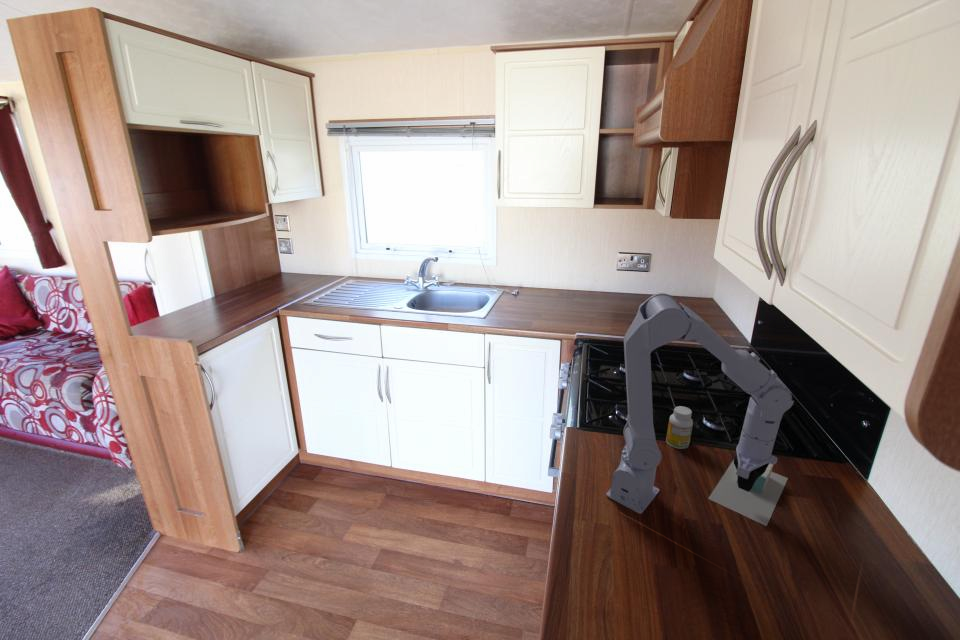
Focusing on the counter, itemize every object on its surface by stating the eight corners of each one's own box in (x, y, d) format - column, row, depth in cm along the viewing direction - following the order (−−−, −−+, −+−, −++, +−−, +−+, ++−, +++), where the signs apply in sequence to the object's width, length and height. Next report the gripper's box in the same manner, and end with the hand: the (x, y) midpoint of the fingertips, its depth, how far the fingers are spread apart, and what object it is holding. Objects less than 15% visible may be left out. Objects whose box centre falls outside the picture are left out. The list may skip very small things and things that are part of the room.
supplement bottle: (669, 434, 119) (675, 402, 116) (691, 442, 116) (697, 409, 112) (662, 444, 115) (668, 411, 112) (684, 452, 112) (691, 418, 109)
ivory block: (765, 478, 97) (773, 462, 102) (740, 467, 100) (748, 453, 105) (761, 493, 98) (769, 477, 103) (736, 482, 101) (745, 467, 106)
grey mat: (766, 527, 90) (766, 526, 90) (707, 499, 97) (708, 498, 97) (787, 479, 103) (788, 478, 103) (734, 458, 110) (735, 457, 110)
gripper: (773, 458, 82) (756, 517, 87) (790, 425, 92) (774, 479, 97) (730, 442, 87) (717, 499, 91) (751, 412, 96) (738, 464, 101)
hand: (744, 488), depth 94 cm, fingers closed
